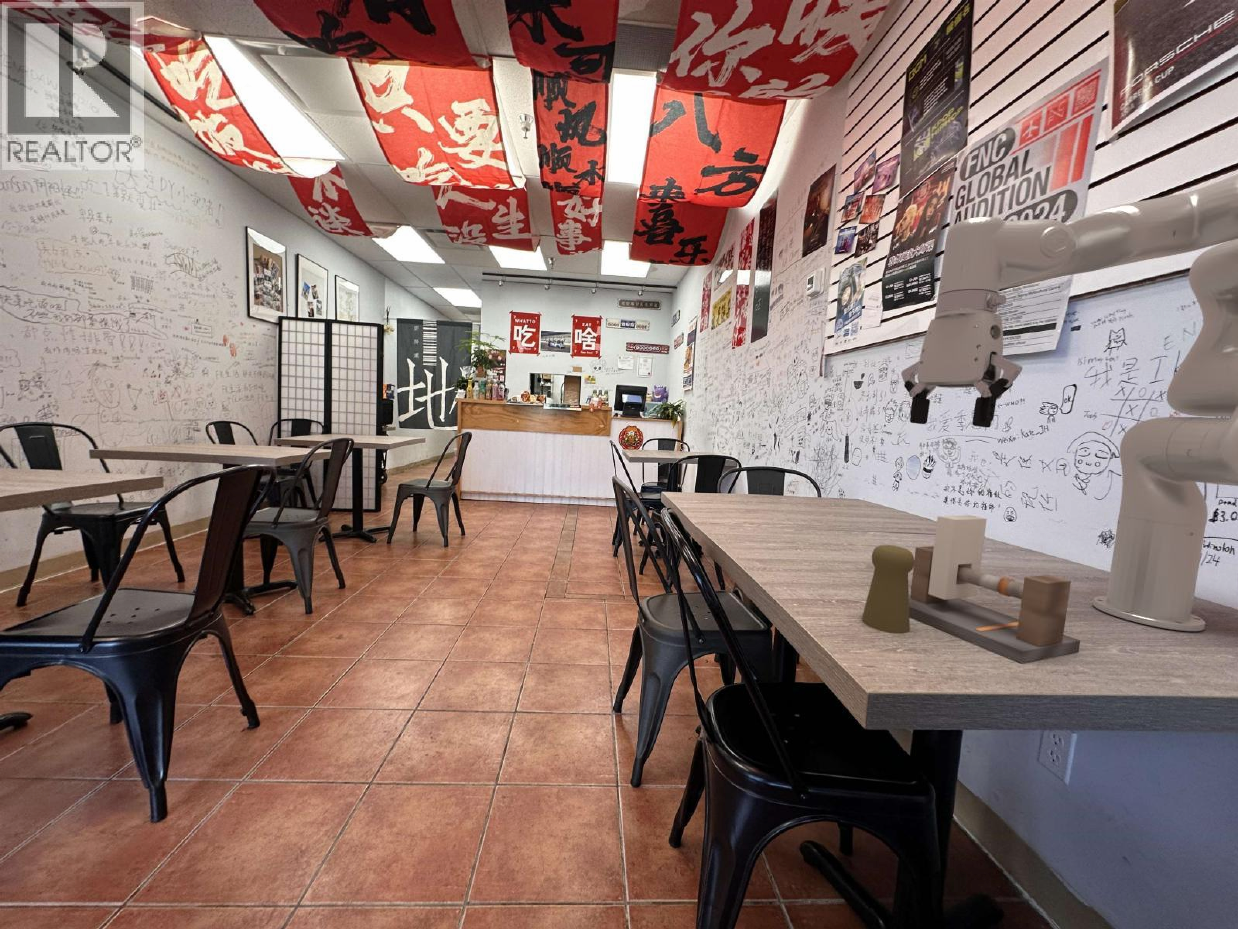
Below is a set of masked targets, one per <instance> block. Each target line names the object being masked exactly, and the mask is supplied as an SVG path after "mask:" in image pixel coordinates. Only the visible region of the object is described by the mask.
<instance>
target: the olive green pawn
mask: <svg viewBox="0 0 1238 929" xmlns="http://www.w3.org/2000/svg"><path fill="white" fill-rule="evenodd" d="M914 559H915V555H913V553H912V551H911V550H909V549H907V548H905V547H902V546H897V545H890V544H881V545H878V546H876V547H875V548H874V549H873V551H872V553H871V563H872V565H873V567H874V571H873V575H872V578H871V582H870V586H869V590H868V594H867V597H866V601H865V605H864V608H863V611H862V612H863V613H862V617H861V621H862V623H863V624H865V625H866V626H868V627H870V628H873V629H875V630H878V631H882V632H885V633H891V634H905V633H909V632H910V630H911V626H910V624H911V622H910V617H909V598H910V593H909V589H910V588H909V573H910V572H912V571H913V568H914Z"/></svg>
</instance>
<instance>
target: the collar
mask: <svg viewBox="0 0 1238 929" xmlns="http://www.w3.org/2000/svg"><path fill="white" fill-rule="evenodd" d="M986 526H987V518H985V517H979V516H974V515H967V514H966V515H938V516H937V518H936V525H935V535H934V543H933V546H934V550H933V558H932V567H931V575H930V583H929V592H928V594H930V595H933V596H935V597H938V598H941V599H944V600H947V599H956V598H959V599H964V598H970V597H977V596H978V589H979V586H977V585H974V584H970V583H967V582H964V581H961V580H958V579H957V571H958V565H959V566H963V567H966V568H969V569H973V570H976V571H980V572H981V567H982V566H981V565H982V560H983V559H982V557H983V550H984V542H985V534H986V528H987V527H986Z"/></svg>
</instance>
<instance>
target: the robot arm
mask: <svg viewBox="0 0 1238 929" xmlns="http://www.w3.org/2000/svg"><path fill="white" fill-rule="evenodd" d="M944 245H945V246H944V250H943V251H944V252H943V257H942V259H943V260H942V263H941V264H942V266H941V272H940V279H939V285H938V291H937V299H936V307H935V312H934V318H933V319H931V320H930V322H929V324H928V328H927V330H926V333H925V336H924V339H923V344H922V348H921V352H920V356H919V360H918V361H917V362H915V363H913V364H912V365H909V366H908V367H906V368H904V369H903V370H902V371H901V377H902V381H903V383H904V384H903V386H904V388H905V390H907V392H908V396H909V397H910V398H912V399H911V406H910V414H909V417H910V418H909V422H910V423H911V424H919V425H926V424H927V423H928V418H929V412H930V411H929V410H930V405H931V400H930V398H927V397H929V395H930V394H931V393H933V391H934V390H935V389H936V388H952V389H953V388H955V389H956V388H975V389H976V390H977V391H978V393H979V394H980V397H978V396H977V397H976V399H975V404H974V408H973V414H972V415H973V417H972V421H971V422H972V423H971V424H972V425H973V426H974V427H981V428H991V426H992V422H993V420H994V418H995V411H996V406H997V400H1000V399H1001V398H1002V396H1003V394H1004V393H1005V392H1006V391H1008V390H1009V389H1010V388H1012V387H1013V384H1014V381H1016V379H1017V378H1018V377H1019V376H1020V374H1021V372H1022V371H1023V366H1022V365H1020V364H1017V363H1016V362H1014V361H1011V360H1009V359H1007V358H1005V357H1003V356H1004V355H1003V354H1004V353H1003V352H1004V330H1003V320H1002V316H1001V315H999V314H996V313H997V312H998V307H999V306H1004V305H1006V302H1007V297H1006V295H1005V294H1002V295H1000V290H1001V289H1002V290H1003V289H1006V288H1011V287H1016V286H1017V287H1018V286H1023V285H1028V284H1032V283H1036V282H1042V281H1045V280H1052V279H1056V278H1061V277H1065V276H1071V275H1072V276H1073V275H1079V274H1084V273H1091V272H1095V271H1100V270H1105V269H1109V268H1114V267H1118V266H1119V267H1120V266H1124V265H1128V264H1133V263H1138V262H1142V261H1143V262H1144V261H1147V260H1154V259H1160V258H1165V257H1166V258H1167V257H1171V256H1177V255H1181V254H1186V253H1190V252H1194V251H1200V250H1202V249H1206V248H1208V247H1209V248H1208V249H1206V250H1205V251H1204V252H1201V254H1199V255H1198V256H1197V257H1196V258H1195V260H1193V262H1192V264H1191V266H1190V270H1189V272H1188V282H1189V285H1190V288H1191V290H1192V293H1193V294H1194V296H1195V298H1196V301H1197V302H1198V305H1199V307H1200V310H1201V314H1202V319H1203V321H1202V326H1201V329H1200V332H1199V334H1198V335H1197V337H1196V340H1195V341H1194V343H1193V345H1192V346H1191V348H1190V350H1189V351H1188V353H1187V354H1186V356H1185V358H1184V359H1183V361H1182V362H1181V364H1180V366H1179V368H1178V369H1177V370H1176V372H1175V373H1174V376H1173V377H1172V379H1171V381H1170V383H1169V386H1168V389H1167V391H1166V402H1167V403H1168V405H1169V407H1170V408H1171V409H1173V410H1174V411H1176V412H1178V413H1180V414H1183V415H1187V416H1165V417H1164V416H1163V417H1156V418H1150V419H1146V420H1143V421H1139V422H1138V423H1135V425H1133V426H1131V427H1130V428H1128V429H1127V431H1126V432H1125V433H1124V435H1123V436H1122V439H1121V442H1120V446H1119V457H1120V465H1121V474H1122V476H1121V478H1122V483H1121V484H1122V486H1121V498H1120V507H1119V512H1118V518H1117V524H1116V531H1115V538H1114V545H1113V552H1112V559H1111V565H1110V566H1111V567H1110V572H1109V578H1108V585H1107V592H1106V595H1098V596H1095V597H1093V599H1092V605H1093V606H1094V608H1096V609H1097V610H1100V611H1101V612H1104V613H1105V614H1109V615H1112V616H1114V617H1117V618H1120V619H1124V620H1127V621H1130V622H1134V623H1138V624H1142V625H1146V626H1151V627H1156V628H1161V629H1168V630H1174V631H1180V632H1181V631H1184V632H1201V631H1203V630H1205V628H1206V627H1205V626H1206V621H1205V620H1204V619H1202V618H1201V617H1199V616H1197V615H1194V614H1192V609H1193V605H1194V602H1195V601H1196V596H1195V593H1196V587H1197V582H1198V575H1199V568H1200V563H1201V562H1200V561H1201V557H1202V551H1203V544H1204V538H1205V532H1206V526H1207V523H1208V522H1207V521H1208V514H1209V513H1208V505H1207V503H1206V502H1207V501H1206V499H1205V497H1204V494H1203V493H1202V491H1201V489H1200V487H1199V485H1198V483H1202V484H1203V483H1204V484H1211V485H1222V486H1235V487H1238V174H1235V175H1233V176H1230V177H1227V178H1224V179H1222V180H1220V181H1217V182H1214V183H1211V184H1209V185H1206V186H1204V187H1200V188H1197V189H1195V190H1191V191H1187V192H1183V193H1178V194H1172V195H1168V196H1164V197H1163V196H1162V197H1156V198H1152V199H1146V200H1141V201H1135V202H1131V203H1130V202H1129V203H1124V204H1118V205H1115V206H1112V207H1108V208H1106V209H1105V208H1104V209H1102V210H1099V211H1095V212H1093V213H1090V214H1087V215H1085V216H1083V217H1080V218H1078V219H1075V220H1072V221H1070V222H1068V223H1067V222H1066V223H1064V222H1062V221H1059V220H1056V219H1051V218H1050V219H1048V218H1040V219H1039V218H1037V219H1035V218H1034V219H1021V220H1020V219H1019V220H1017V219H1016V220H1004V219H1002V218H1000V217H995V216H977V217H976V216H975V217H972V218H967V219H964V220H961V221H958V222H956V223H955V224H954V225H952V226H951V228H949V230H948V231H947V234H946V239H945V243H944ZM1210 247H1211V248H1210ZM1002 371H1003V372H1002ZM916 375H917V381H916Z"/></svg>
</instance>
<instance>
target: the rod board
mask: <svg viewBox="0 0 1238 929" xmlns="http://www.w3.org/2000/svg"><path fill="white" fill-rule="evenodd" d="M914 550H915V553H914V566H913V569H912V577H911V588H910V593H909V618H911V619H913V620H915V619H916V621H918V622H920V623H923V624H925V625H927V626H931V627H932V626H933V627H932V628H935V629H937V630H940V631H942V630H943V632H945V633H947V634H949V633H950V634H949V635H952V636H954V637H956V638H959V637H960V638H959V639H961V640H963V641H966V640H967V641H966V642H968V641H969V643H971V644H973V643H975V644H974V645H976V644H977V645H976V646H978V647H981V648H982V649H985V650H987V651H989V652H993V653H995V654H998V655H1001V656H1002V655H1003V656H1002V657H1005V658H1007V657H1009V658H1010V659H1009V658H1008V659H1009V660H1012V661H1013V662H1017V661H1018V662H1017V663H1019V662H1020V663H1019V664H1025V662H1026V663H1031V662H1036V661H1040V660H1045V658H1046V659H1049V657H1051V658H1054V657H1059V655H1060V656H1065V655H1068V654H1074V653H1079V652H1080V647H1081V639H1078V638H1075V637H1072V636H1068V635H1066V634H1064V633H1065V626H1066V621H1067V620H1066V619H1067V612H1068V604H1069V599H1070V598H1069V597H1070V591H1071V583H1072V580H1069V579H1066V578H1062V577H1058V576H1054V575H1050V574H1042V575H1035V576H1034V575H1033V576H1025V577H1024V579H1023V583H1021V582H1017V581H1016V580H1014V579H1012V578H1008V577H1005V576H1003V577H1000V576H996V575H993V574H991V573H986V572H982V571H981V570H980V571H976V570H973V569H969V568H966V567H963V566H959V565H958V571H957V579H958V580H961V581H964V582H967V583H970V584H974V585H977V586H978V587H979V588H984V589H987V590H991V591H993V592H995V593H996V592H997V593H998V594H1000V595H1002V596H1006V597H1010V598H1011V597H1013V598H1016V599H1019V600H1021V602H1020V607H1019V608H1020V609H1019V616H1018V618H1016V617H1014V616H1011V615H1008V614H1005V613H1003V612H1000V611H997V610H994V609H990V608H988V607H984V606H982V605H980V604H977V603H973V602H970V601H967V600H964V599H963V598H956V599H947V600H944V599H941V598H938V597H935V596H933V595H930V594H928V592H929V583H930V575H931V567H932V558H933V550H934V545H933V546H931V545H930V546H917V547H915V549H914ZM1029 661H1030V662H1029Z"/></svg>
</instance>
